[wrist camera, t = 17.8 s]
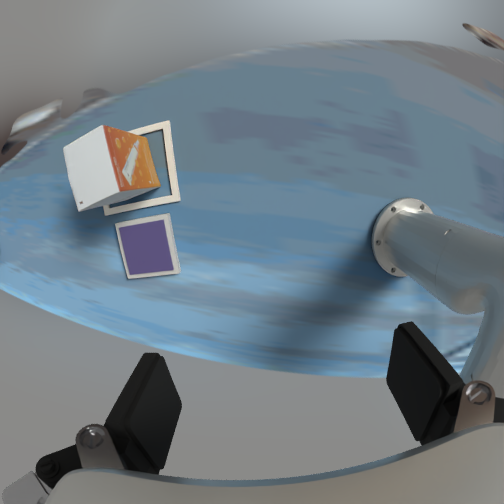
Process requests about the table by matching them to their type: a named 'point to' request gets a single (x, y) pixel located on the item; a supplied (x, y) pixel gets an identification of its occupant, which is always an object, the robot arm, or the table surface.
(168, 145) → the outlined square
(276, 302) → the table surface
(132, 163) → the small box
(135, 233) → the ink pad
